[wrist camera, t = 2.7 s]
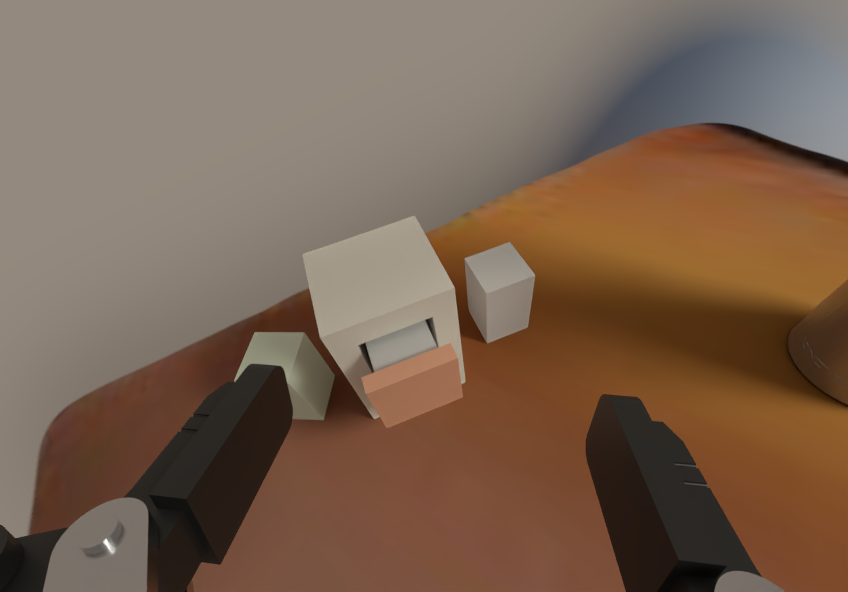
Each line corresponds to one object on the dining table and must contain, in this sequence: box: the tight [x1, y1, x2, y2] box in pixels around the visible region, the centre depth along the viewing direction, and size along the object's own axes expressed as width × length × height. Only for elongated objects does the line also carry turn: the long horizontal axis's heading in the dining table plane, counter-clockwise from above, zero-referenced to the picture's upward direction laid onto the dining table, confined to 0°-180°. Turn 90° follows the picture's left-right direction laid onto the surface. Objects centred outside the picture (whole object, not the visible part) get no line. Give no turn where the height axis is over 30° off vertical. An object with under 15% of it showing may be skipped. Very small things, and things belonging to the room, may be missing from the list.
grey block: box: [465, 242, 535, 343], centre depth 36 cm, size 4×4×8 cm
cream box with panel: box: [302, 216, 465, 419], centre depth 32 cm, size 8×9×14 cm
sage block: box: [234, 332, 335, 420], centre depth 33 cm, size 4×4×8 cm
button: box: [361, 320, 463, 428], centre depth 28 cm, size 9×6×6 cm, turn 20°
